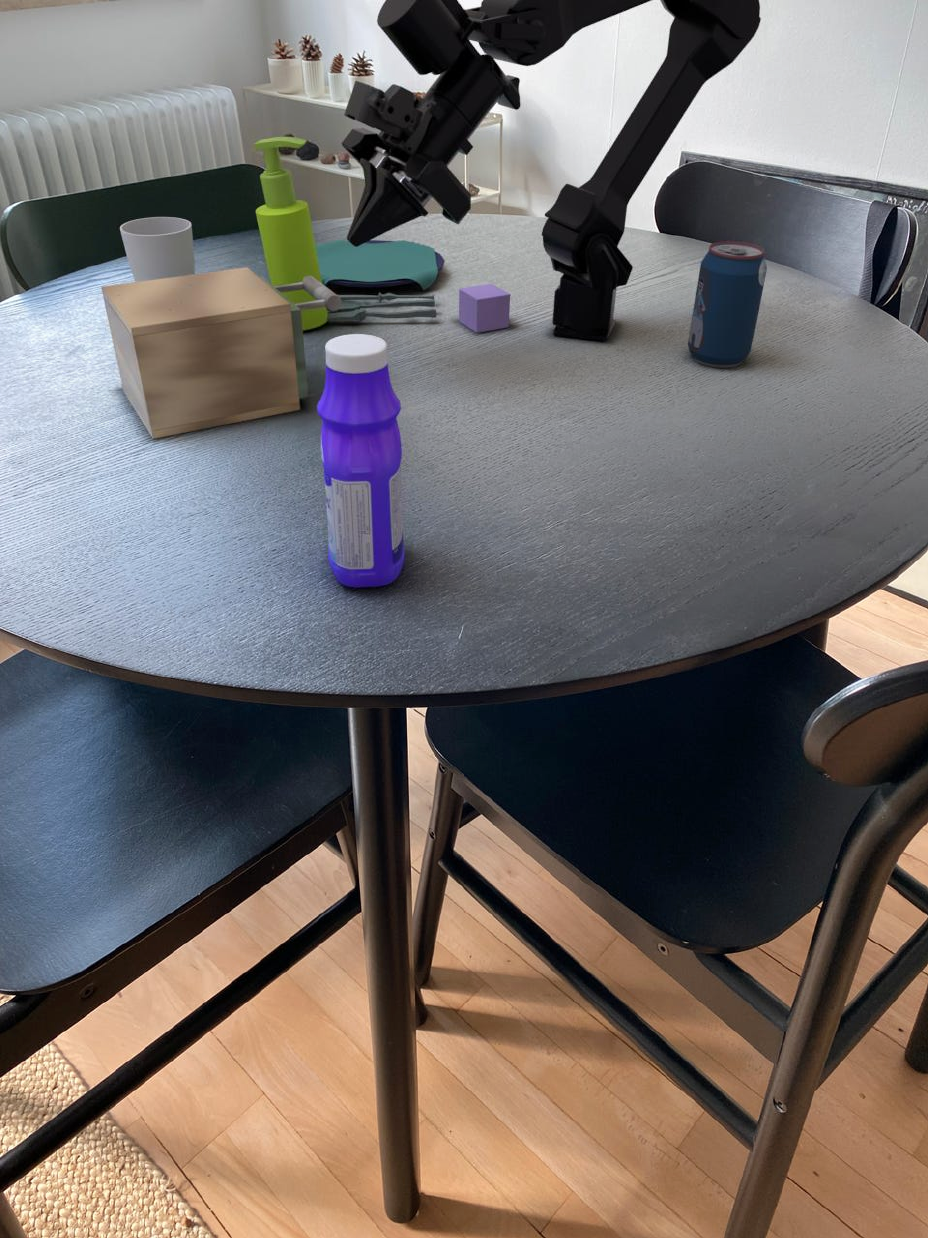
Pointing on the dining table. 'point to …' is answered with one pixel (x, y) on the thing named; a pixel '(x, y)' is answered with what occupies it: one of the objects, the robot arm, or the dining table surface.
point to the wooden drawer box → (203, 350)
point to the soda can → (727, 303)
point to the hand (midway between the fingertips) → (351, 242)
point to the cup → (159, 247)
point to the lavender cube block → (484, 308)
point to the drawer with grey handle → (322, 300)
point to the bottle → (361, 462)
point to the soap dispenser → (287, 230)
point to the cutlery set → (379, 275)
